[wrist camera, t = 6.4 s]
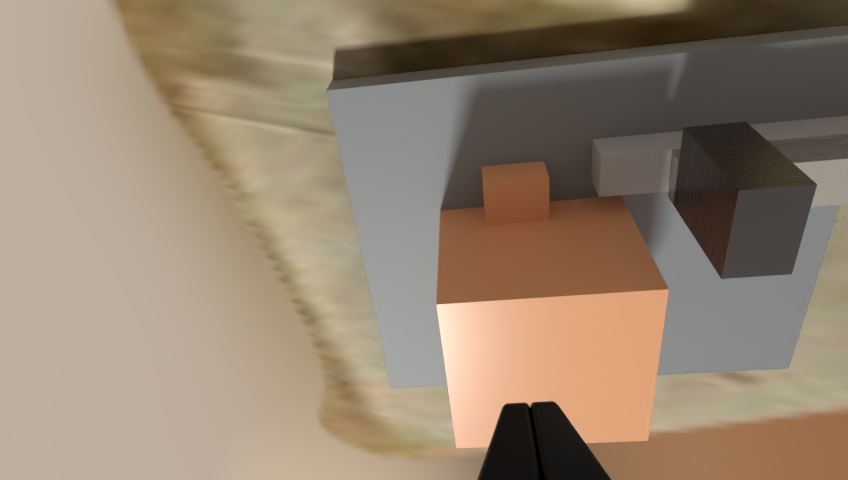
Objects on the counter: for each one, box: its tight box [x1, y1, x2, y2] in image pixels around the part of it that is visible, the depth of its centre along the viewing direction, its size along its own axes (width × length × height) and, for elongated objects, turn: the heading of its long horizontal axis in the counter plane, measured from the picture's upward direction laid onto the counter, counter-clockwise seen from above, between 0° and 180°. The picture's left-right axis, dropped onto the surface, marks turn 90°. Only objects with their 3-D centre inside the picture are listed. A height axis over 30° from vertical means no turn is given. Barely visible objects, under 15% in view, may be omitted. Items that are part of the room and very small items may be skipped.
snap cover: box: [436, 161, 669, 448], centre depth 18 cm, size 6×8×5 cm
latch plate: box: [326, 25, 848, 389], centre depth 20 cm, size 16×13×2 cm
